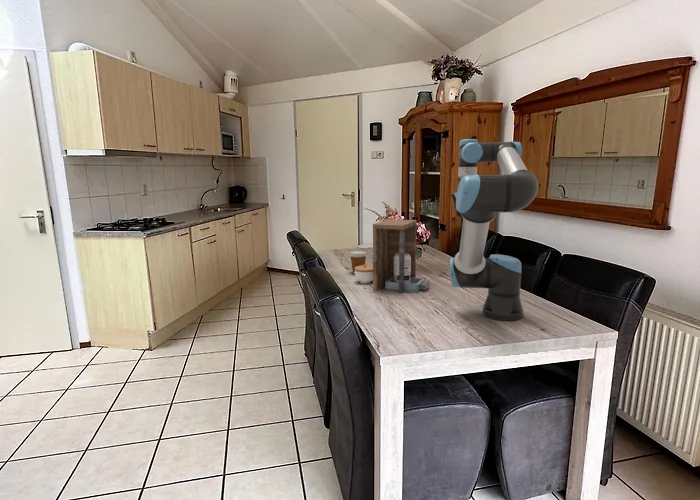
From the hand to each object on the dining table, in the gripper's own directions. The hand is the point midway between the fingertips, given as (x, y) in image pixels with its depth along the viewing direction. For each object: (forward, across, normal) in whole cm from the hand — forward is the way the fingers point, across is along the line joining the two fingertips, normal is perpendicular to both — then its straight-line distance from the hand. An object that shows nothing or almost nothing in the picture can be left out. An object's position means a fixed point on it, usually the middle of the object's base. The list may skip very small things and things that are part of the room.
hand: (465, 232), depth 177 cm
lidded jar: (+30, -51, +8) cm, 60 cm away
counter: (+29, -34, +6) cm, 45 cm away
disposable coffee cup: (+30, -62, +24) cm, 73 cm away
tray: (+29, -27, +6) cm, 40 cm away
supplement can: (+28, -30, +6) cm, 42 cm away
